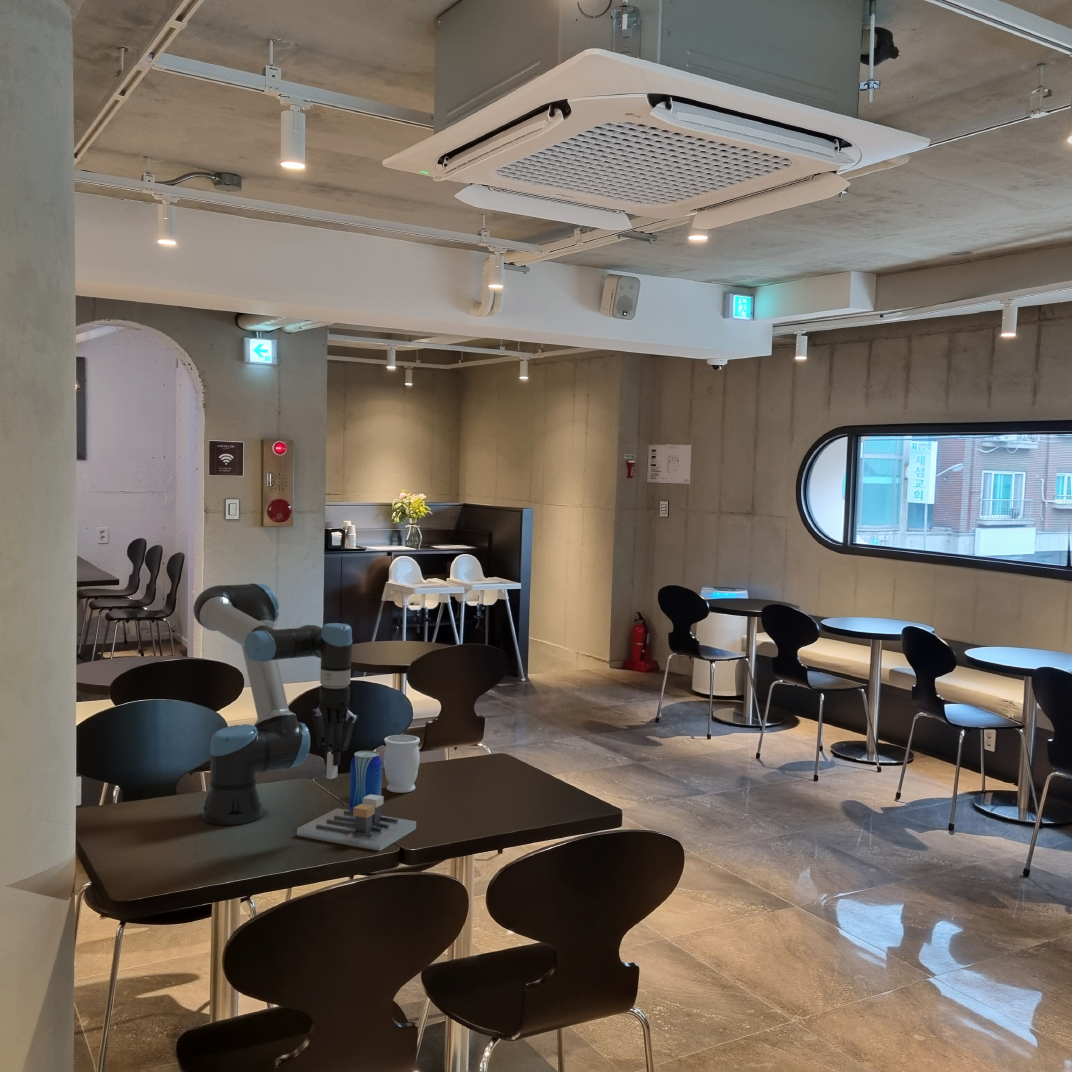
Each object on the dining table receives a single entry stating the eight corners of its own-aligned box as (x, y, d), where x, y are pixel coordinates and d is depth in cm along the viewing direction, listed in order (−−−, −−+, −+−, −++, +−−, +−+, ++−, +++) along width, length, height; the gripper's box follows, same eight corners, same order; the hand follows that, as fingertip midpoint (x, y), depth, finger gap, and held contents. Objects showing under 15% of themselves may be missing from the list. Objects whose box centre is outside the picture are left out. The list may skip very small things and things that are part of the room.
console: (297, 835, 253) (297, 825, 253) (337, 815, 270) (337, 805, 269) (379, 850, 244) (380, 840, 244) (416, 828, 261) (416, 819, 260)
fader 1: (362, 820, 259) (362, 797, 258) (369, 817, 262) (370, 794, 262) (375, 823, 257) (376, 800, 257) (383, 819, 261) (383, 796, 260)
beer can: (374, 818, 268) (375, 758, 268) (344, 815, 270) (346, 756, 269) (385, 808, 277) (386, 751, 276) (356, 806, 278) (357, 748, 278)
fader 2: (352, 831, 250) (353, 807, 250) (360, 827, 254) (361, 803, 254) (366, 833, 249) (367, 810, 249) (374, 829, 252) (374, 806, 252)
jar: (380, 785, 299) (381, 735, 298) (415, 783, 302) (416, 733, 301) (386, 795, 289) (387, 743, 288) (421, 793, 292) (423, 742, 291)
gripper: (304, 684, 252) (301, 777, 254) (349, 691, 248) (345, 785, 249) (321, 679, 259) (318, 769, 261) (365, 685, 254) (361, 777, 256)
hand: (331, 777), depth 255 cm, fingers closed
